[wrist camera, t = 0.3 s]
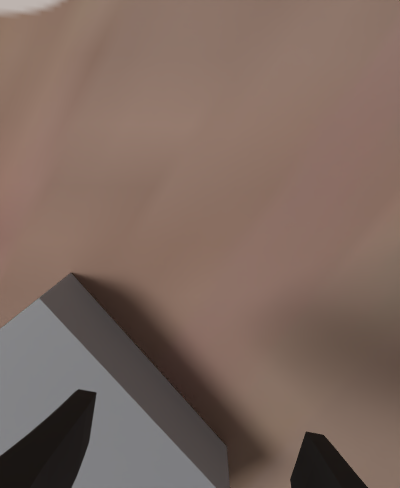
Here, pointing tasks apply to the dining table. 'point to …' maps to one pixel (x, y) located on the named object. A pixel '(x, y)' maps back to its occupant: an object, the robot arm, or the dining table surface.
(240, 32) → the dining table surface
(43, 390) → the base block
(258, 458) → the dining table surface
